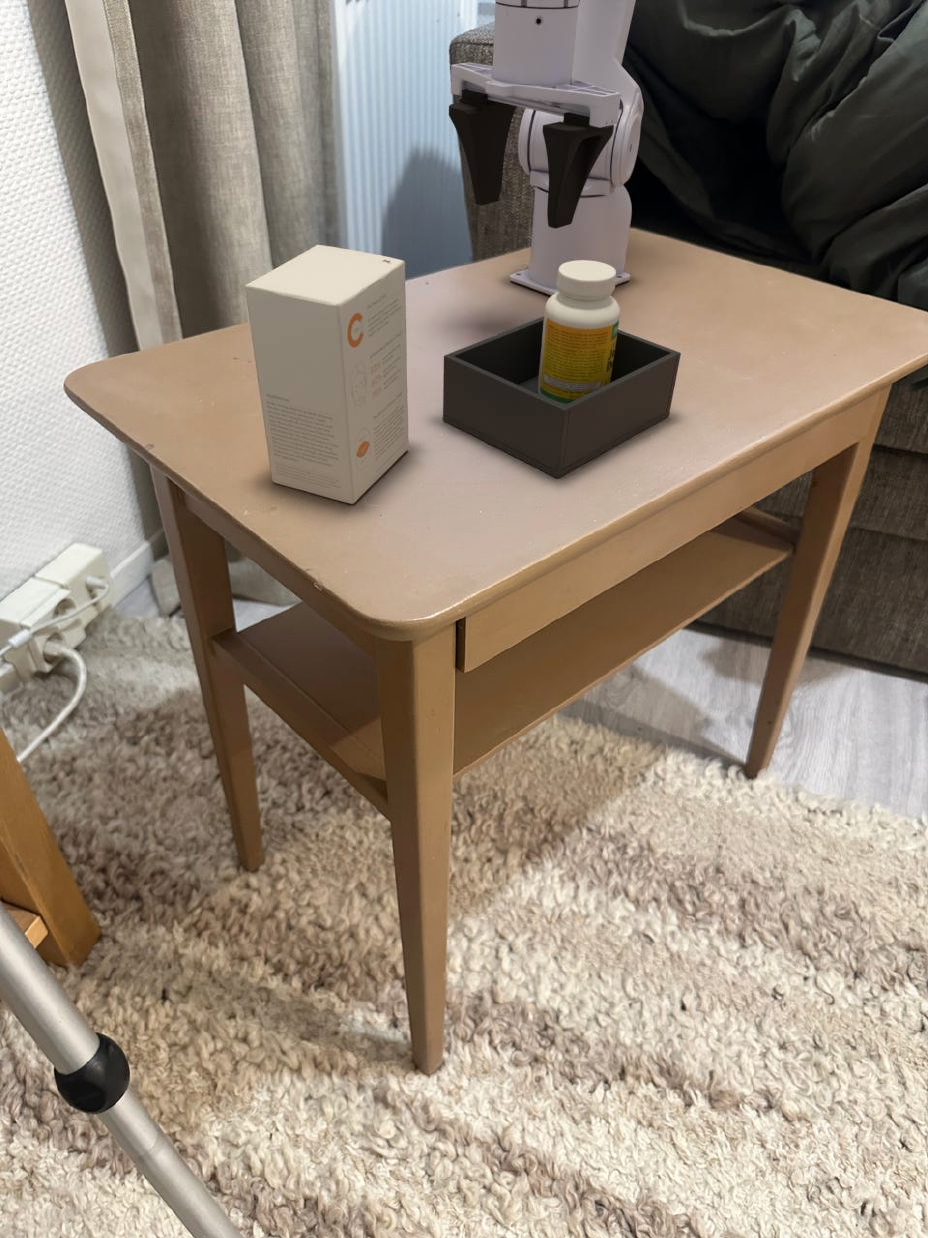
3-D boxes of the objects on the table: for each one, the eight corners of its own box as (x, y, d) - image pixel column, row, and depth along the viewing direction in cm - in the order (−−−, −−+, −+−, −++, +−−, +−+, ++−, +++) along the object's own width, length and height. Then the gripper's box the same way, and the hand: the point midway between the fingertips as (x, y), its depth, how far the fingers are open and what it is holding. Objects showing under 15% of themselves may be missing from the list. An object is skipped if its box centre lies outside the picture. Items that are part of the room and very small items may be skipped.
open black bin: (556, 368, 73) (562, 308, 70) (669, 416, 67) (681, 352, 64) (442, 420, 66) (443, 355, 63) (557, 478, 60) (564, 410, 57)
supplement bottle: (532, 381, 70) (542, 255, 64) (600, 381, 70) (616, 255, 64) (543, 414, 66) (555, 283, 60) (614, 413, 66) (634, 282, 60)
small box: (331, 429, 64) (317, 241, 56) (411, 449, 62) (408, 258, 54) (268, 483, 59) (241, 282, 50) (352, 507, 57) (340, 303, 48)
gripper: (421, -5, 63) (421, 201, 72) (582, 20, 55) (561, 247, 64) (490, -10, 67) (482, 186, 76) (649, 12, 59) (620, 227, 68)
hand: (522, 213), depth 70 cm, fingers open, 7 cm apart
